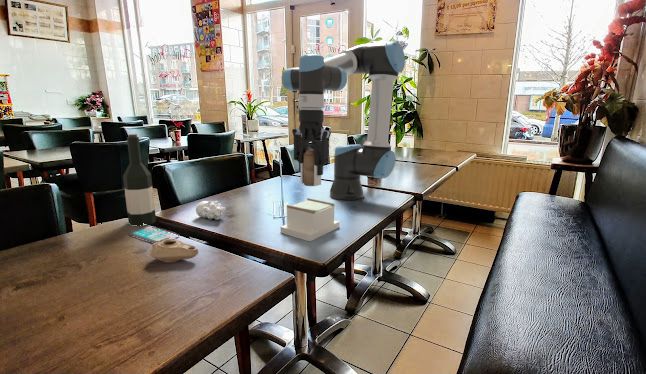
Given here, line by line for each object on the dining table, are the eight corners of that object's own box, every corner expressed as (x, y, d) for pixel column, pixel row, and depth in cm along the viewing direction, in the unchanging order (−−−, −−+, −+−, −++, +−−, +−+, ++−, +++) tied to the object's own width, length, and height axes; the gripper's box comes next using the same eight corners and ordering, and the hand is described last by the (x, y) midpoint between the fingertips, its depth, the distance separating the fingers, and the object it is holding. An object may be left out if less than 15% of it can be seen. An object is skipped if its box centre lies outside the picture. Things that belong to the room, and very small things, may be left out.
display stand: (311, 219, 124) (311, 196, 122) (339, 227, 117) (339, 202, 115) (280, 232, 112) (280, 206, 110) (309, 241, 105) (310, 213, 103)
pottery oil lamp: (190, 268, 86) (172, 247, 83) (156, 274, 91) (139, 255, 88) (207, 244, 93) (192, 224, 90) (175, 251, 98) (160, 232, 95)
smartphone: (156, 243, 100) (126, 233, 108) (157, 246, 101) (126, 236, 108) (181, 234, 108) (151, 225, 115) (182, 237, 108) (152, 228, 115)
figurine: (209, 205, 131) (233, 208, 125) (201, 221, 128) (225, 225, 122) (197, 196, 125) (222, 198, 120) (188, 212, 122) (213, 216, 117)
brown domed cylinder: (310, 182, 114) (310, 147, 112) (321, 184, 112) (322, 148, 109) (300, 184, 110) (300, 149, 108) (312, 186, 108) (312, 150, 105)
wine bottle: (161, 220, 122) (152, 134, 115) (142, 227, 114) (131, 136, 107) (142, 217, 125) (133, 133, 118) (123, 224, 117) (111, 135, 110)
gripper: (281, 108, 108) (282, 181, 113) (328, 109, 97) (326, 190, 103) (296, 108, 113) (297, 178, 119) (342, 109, 103) (340, 185, 109)
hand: (310, 183), depth 111 cm, fingers closed on brown domed cylinder, 5 cm apart
